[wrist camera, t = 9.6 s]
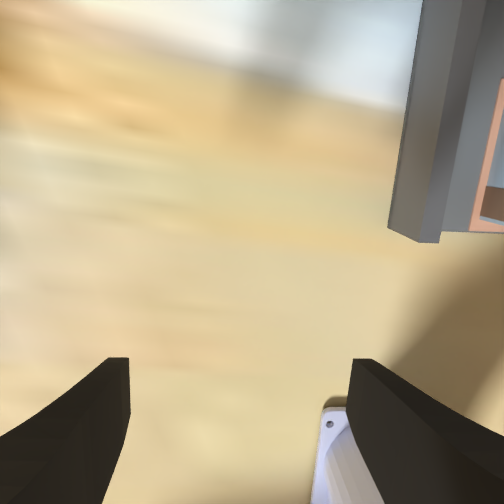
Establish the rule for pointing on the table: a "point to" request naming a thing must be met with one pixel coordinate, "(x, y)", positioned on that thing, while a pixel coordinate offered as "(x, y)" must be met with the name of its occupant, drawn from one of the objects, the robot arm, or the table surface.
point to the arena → (450, 120)
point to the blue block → (495, 183)
